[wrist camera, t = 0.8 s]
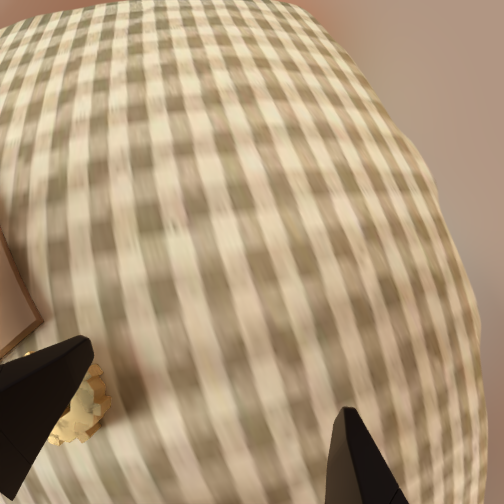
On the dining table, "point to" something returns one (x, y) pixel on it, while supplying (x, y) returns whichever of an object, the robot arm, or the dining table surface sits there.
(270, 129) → the dining table surface
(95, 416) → the brass gear
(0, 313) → the gear board
